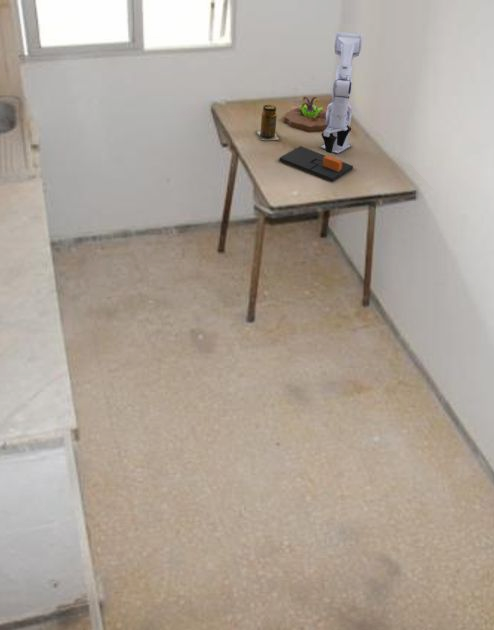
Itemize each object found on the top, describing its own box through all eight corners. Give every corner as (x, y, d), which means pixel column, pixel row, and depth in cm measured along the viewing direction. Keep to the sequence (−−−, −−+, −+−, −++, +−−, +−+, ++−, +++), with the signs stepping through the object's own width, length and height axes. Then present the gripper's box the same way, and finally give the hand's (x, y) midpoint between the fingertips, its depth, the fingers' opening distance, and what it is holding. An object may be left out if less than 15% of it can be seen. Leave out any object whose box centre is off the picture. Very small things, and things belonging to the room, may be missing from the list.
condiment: (273, 131, 298) (276, 103, 291) (279, 139, 291) (281, 111, 284) (256, 132, 296) (258, 103, 289) (261, 140, 290) (263, 112, 283)
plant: (312, 135, 296) (315, 109, 289) (276, 120, 306) (278, 95, 300) (342, 122, 308) (345, 97, 301) (307, 108, 318) (309, 83, 311)
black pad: (300, 149, 285) (300, 146, 284) (329, 160, 279) (330, 157, 278) (279, 161, 277) (279, 157, 276) (308, 172, 270) (309, 169, 269)
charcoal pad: (324, 158, 280) (325, 146, 277) (352, 169, 274) (354, 157, 271) (303, 170, 271) (304, 158, 268) (332, 182, 265) (333, 169, 262)
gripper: (337, 122, 251) (332, 158, 260) (359, 111, 260) (353, 146, 269) (320, 117, 255) (316, 152, 263) (342, 105, 264) (338, 140, 272)
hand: (334, 148), depth 266 cm, fingers open, 7 cm apart
